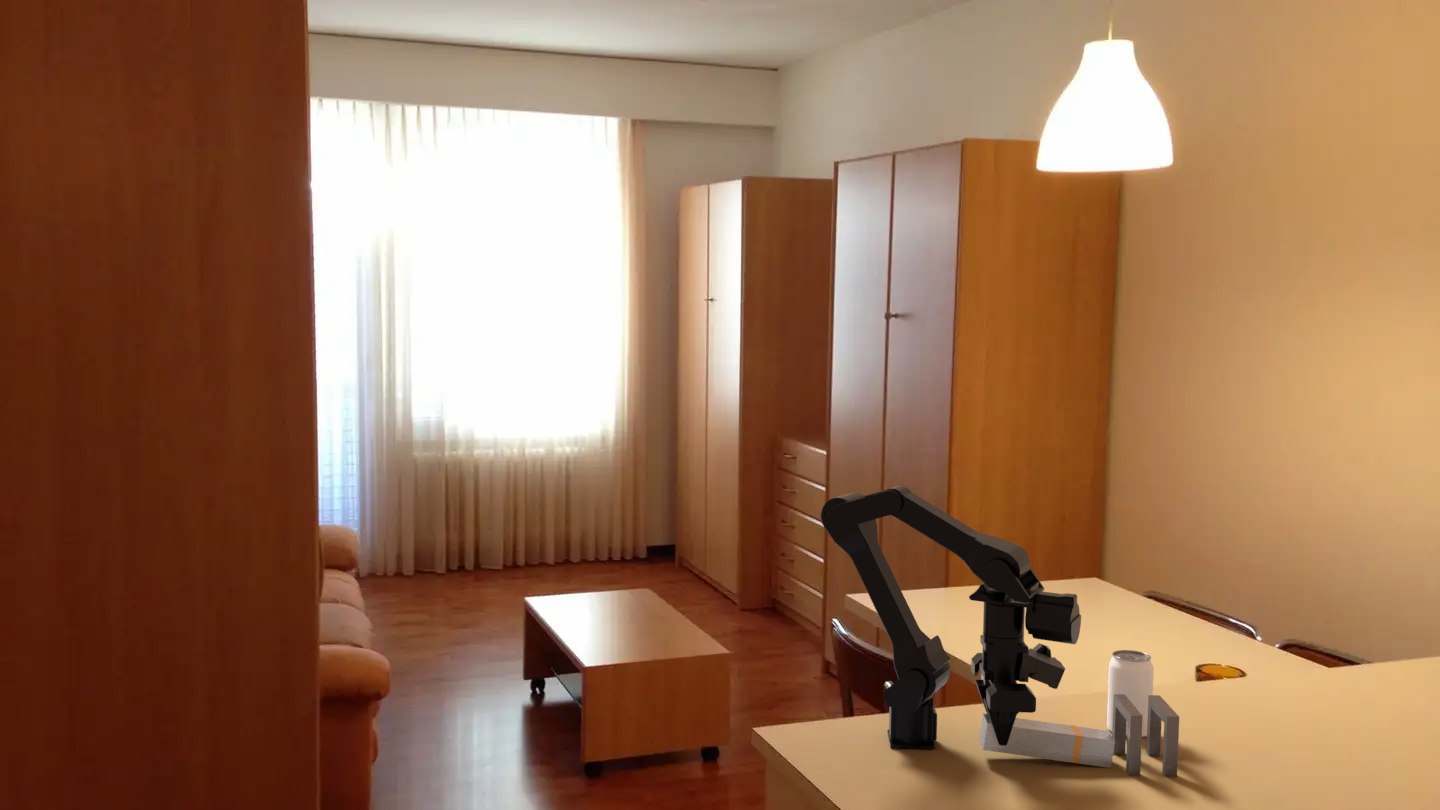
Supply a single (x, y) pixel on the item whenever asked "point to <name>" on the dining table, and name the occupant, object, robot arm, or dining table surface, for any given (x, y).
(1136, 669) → the can
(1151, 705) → the collar
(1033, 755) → the grey banded block
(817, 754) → the dining table surface
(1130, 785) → the dining table surface
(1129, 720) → the collar
